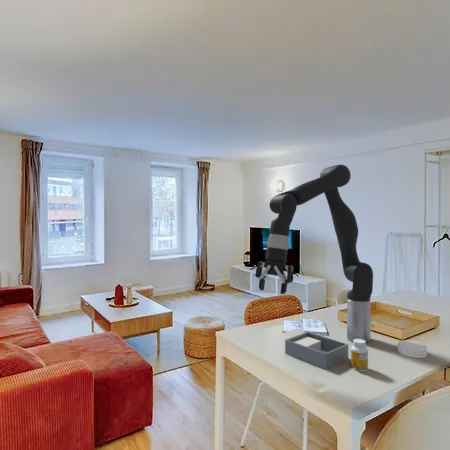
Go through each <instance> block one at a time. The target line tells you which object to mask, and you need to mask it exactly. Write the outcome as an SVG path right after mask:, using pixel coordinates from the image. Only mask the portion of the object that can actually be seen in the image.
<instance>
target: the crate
mask: <svg viewBox="0 0 450 450" xmlns="http://www.w3.org/2000/svg"><path fill="white" fill-rule="evenodd" d="M304 337H310V338H313V339H316V340H319V341H321V351H317V350H315V349H312V348H309V347H306V346H303V345H300V344H298V343H295V342H293V341H296V340H299V339H301V338H304ZM284 346H285V347H284V349H285V350H284V354H285V355H287V356H290V357H294V358H295V359H297V360H298V359H299V360H301V361H303V362H306V363H307V364H311V365H313V366H316V367H318V368H321V369H323V370H328V369H330V368H332V367H334V366H337V365H339V364H340V363H342V362H344V361H346V360H348V359H349V344H348V343H345V342H342V341H339V340H336V339H333V338H329V337H326V336H324V335H318V334H315V333H312V332H303V333H301V334H298V335H295V336H292V337H289V338H287V339H284Z"/></svg>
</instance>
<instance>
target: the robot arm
mask: <svg viewBox="0 0 450 450" xmlns="http://www.w3.org/2000/svg"><path fill="white" fill-rule="evenodd" d="M351 176H352V175H351V170H350V168H348V166H347V165H344V164H335V165H330V166H327V167H324V168H323V169H321V171H320V174H319V177H318V178H315V179H312V180H309V181H306V182H304V183H301V184H300V185H297V186H295V187H294V188H292V189H290V190H287V191H284V192H281V193H277V194H275V196H274V195H273V197H272V198H271V199H270V201H269V209H270V211H271V212H272V213H274V214H277V217H276V218H274V219H272V221H271V223H270V228H269V236H268V239H267V244H266V252H265V253H266V255H265V262H264V261H260V260H259V261H257V263H256V270H255V274H254V276H255V278H257V279H259V282H258V289H259V290H260V291H265V285H266V280H265V279H266V278H268V276H276V277H278V278H279V279H280V281H281V284H280V285H281V286H280V294H281V295H285V294H286V293H287V288H288V284H290V283H293V282H294V271H295V270H294V269H295V267H294V266H293V265H290V264H289V265H287V260H288V259H287V257H288V251H289V237H290V227H291V224H292V222H293V219H294V216H295V213H296V211H297V208H298V207H297V206H301V205H303V204H305V203H307V202H309V201H311V200H313V199H314V198H316V197H318V196H320V195H322V194H324V195H325V199H326V201H327V205H328V208H329V211H330V215H331V219H332V224H333V227H334V231H335V232H334V233H335V235H336V239H337V243H338V247H339V251H340V256H341V262H342V263H341V264H342V271H343V276H344V277H345V279H347V280H348V281H349V282H351V283H352V289H351V290H349V291H347V294H346V295H347V296H346V298H347V300H346V316H347V317H346V323H347V324H346V338H347V339H348V340H349V341H351V342H353V340H354V339H362V340H365V341H366V343H369V342H371V337H372V334H371V330H372V329H371V327H372V326H371V324H372V323H371V322H372V321H371V320H372V319H371V318H372V317H371V296H372V294H373V288H374V287H373V286H374V285H373V284H374V271H373V268H372V266H371V265H370V264H368V263H366V262H362V261H360V259H359V256H358V252H357V242H358V237H359V227H358V223H357V218H356V216H355V214H354V212H353V210H351V208H350V207H349V205H347V204H346V202H344V201H343V199H342V197H341V195H340V191H339V188H342V187H344V186H346V185H347V184H348V183H350V180H351ZM263 268H264V270H263ZM285 270H286V273H287V274H285Z"/></svg>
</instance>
